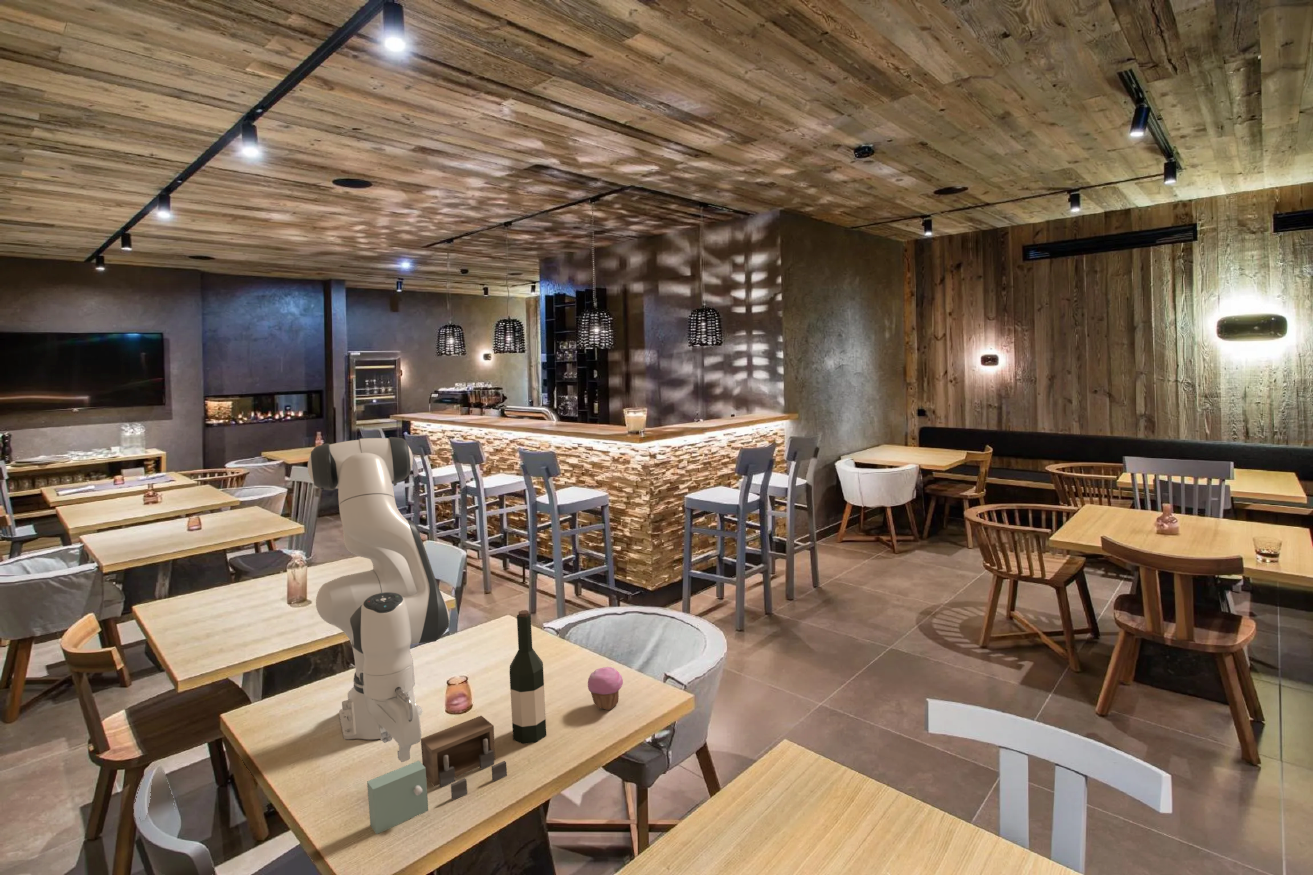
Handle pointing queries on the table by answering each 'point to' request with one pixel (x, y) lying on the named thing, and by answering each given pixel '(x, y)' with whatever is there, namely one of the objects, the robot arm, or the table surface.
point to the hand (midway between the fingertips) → (395, 749)
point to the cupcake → (605, 687)
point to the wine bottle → (527, 687)
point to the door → (397, 796)
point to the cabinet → (460, 754)
